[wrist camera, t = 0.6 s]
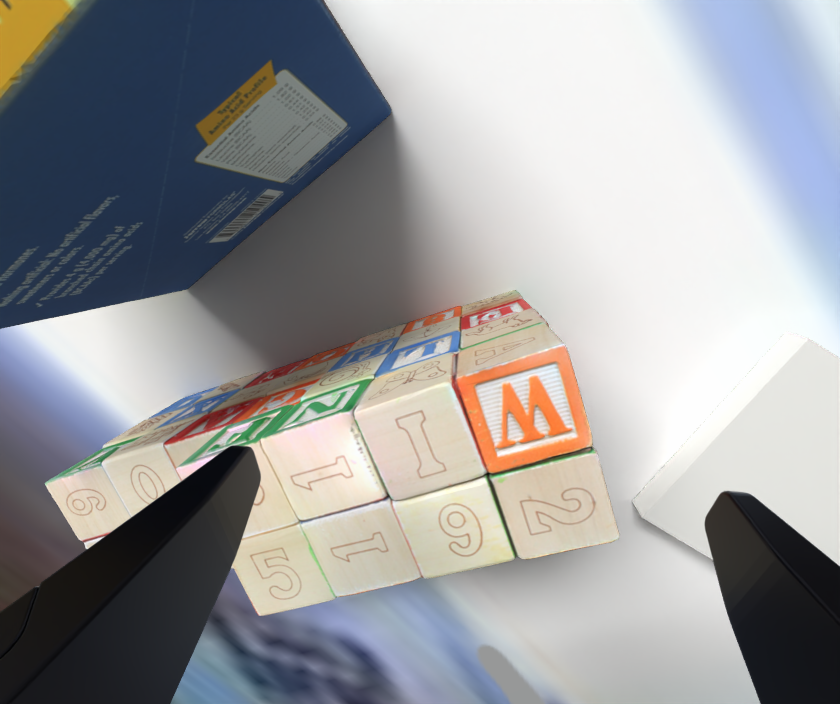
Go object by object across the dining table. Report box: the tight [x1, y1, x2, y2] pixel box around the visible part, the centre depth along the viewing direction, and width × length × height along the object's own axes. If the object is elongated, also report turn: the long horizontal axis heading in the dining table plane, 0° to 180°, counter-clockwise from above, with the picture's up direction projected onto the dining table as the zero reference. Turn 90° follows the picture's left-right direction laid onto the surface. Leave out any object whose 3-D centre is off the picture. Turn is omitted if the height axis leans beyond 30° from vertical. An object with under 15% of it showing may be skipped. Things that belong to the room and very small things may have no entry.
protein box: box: [0, 0, 391, 329], centre depth 15 cm, size 10×15×16 cm
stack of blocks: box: [45, 290, 620, 616], centre depth 19 cm, size 21×6×12 cm, turn 110°
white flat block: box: [632, 331, 840, 566], centre depth 23 cm, size 12×16×2 cm
